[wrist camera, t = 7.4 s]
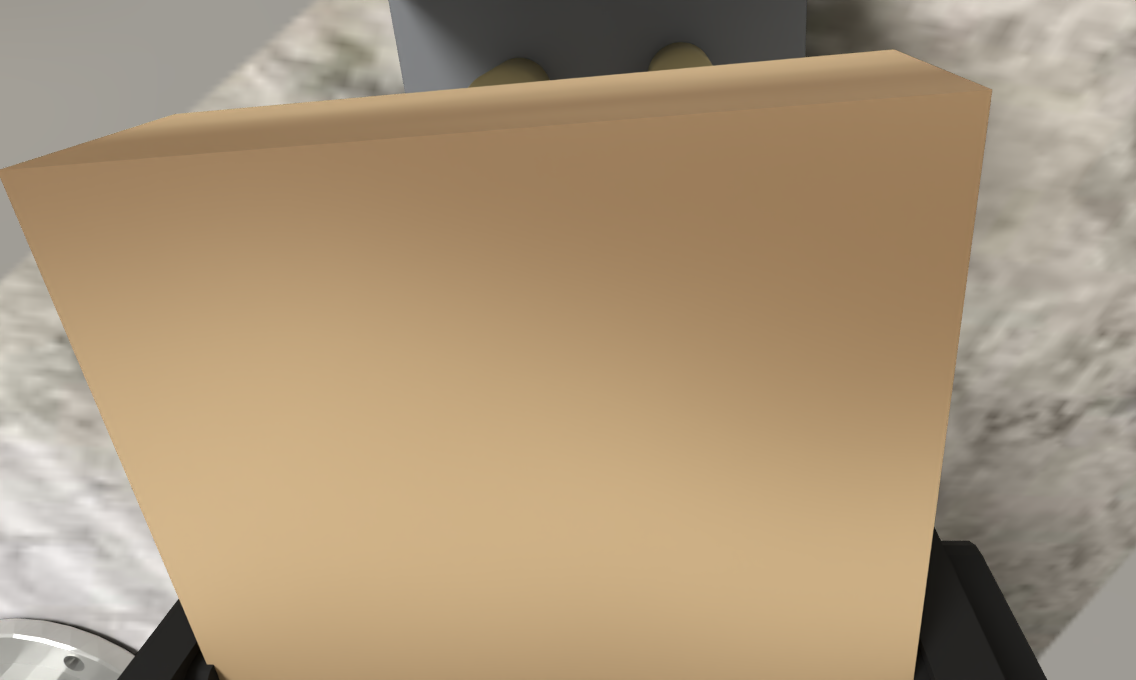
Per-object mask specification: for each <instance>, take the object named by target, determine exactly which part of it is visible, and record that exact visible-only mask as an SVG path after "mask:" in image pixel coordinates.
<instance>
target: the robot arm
mask: <svg viewBox="0 0 1136 680" xmlns="http://www.w3.org/2000/svg"><path fill="white" fill-rule="evenodd" d="M0 680H220V679H219V676H218V674H217V672H216V669H215V667H214V665H212V664H207V663H206V661H205V659H204V656H203V654H202V652H201V649H200V647H199V645H198V642H197V640H196V638H195V635H194V633H193V631H192V628H191V626H190V623H189V621H188V619H187V616H186V614H185V612H184V609H183V607H182V605H181V602H180V600H179V599H178V600H177V602H176V603H175V604H174V606H173V607H172V608H171V610H170V611H169V612H168V613H167V615H166V616H165V617H164V619H163V620H162V621H161V623H160V624H159V625H158V627H157V628H156V629H155V630H154V632H153V633H152V634H151V636H150V637H149V638H148V640H147V641H146V642H145V644H144V645H143V646H142V647H141V649H140V650H139V651H138V653H137V654H136V655H133V654H132V653H130V652H129V651H127V650H126V649H124V648H122V647H120V646H118V645H116V644H114V643H112V642H110V641H108V640H106V639H104V638H102V637H100V636H97V635H94V634H91V633H88V632H86V631H83V630H80V629H77V628H74V627H71V626H67V625H62V624H58V623H53V622H49V621H44V620H32V619H20V618H14V619H1V620H0ZM913 680H1047V678H1046V677H1045V675H1044V673H1043V671H1042V669H1041V667H1040V665H1039V663H1038V661H1037V659H1036V657H1035V655H1034V653H1033V652H1032V650H1031V648H1030V646H1029V644H1028V642H1027V640H1026V638H1025V636H1024V634H1023V632H1022V631H1021V629H1020V627H1019V625H1018V623H1017V621H1016V619H1015V617H1014V615H1013V613H1012V611H1011V610H1010V608H1009V606H1008V604H1007V602H1006V600H1005V598H1004V596H1003V594H1002V592H1001V590H1000V589H999V587H998V585H997V583H996V581H995V579H994V577H993V575H992V573H991V571H990V569H989V567H988V566H987V564H986V562H985V560H984V558H983V556H982V554H981V553H980V551H979V550H978V548H977V547H976V545H974V544H973V543H971V542H970V541H941V540H940V538H939V536H938V534H937V532H936V530H935V527H934V529H933V537H932V544H931V552H930V559H929V567H928V574H927V582H926V589H925V597H924V604H923V612H922V619H921V627H920V634H919V642H918V649H917V657H916V664H915V672H914V679H913Z"/></svg>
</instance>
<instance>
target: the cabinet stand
mask: <svg viewBox="0 0 1136 680" xmlns="http://www.w3.org/2000/svg"><path fill="white" fill-rule="evenodd" d="M388 1H389V6H390V12H391V17H392V23H393V28H394V34H395V39H396V45H397V50H398V56H399V61H400V67H401V72H402V78H403V84H404V89H405V93H416V92H427V91H438V90H449V89H460V88H471V87H483V86H494V85H505V84H516V83H527V82H538V81H549V80H560V79H571V78H582V77H594V76H605V75H616V74H627V73H638V72H649V71H660V70H671V69H682V68H694V67H705V66H716V65H727V64H738V63H749V62H760V61H771V60H782V59H793V58H805V49H806V15H807V0H388Z"/></svg>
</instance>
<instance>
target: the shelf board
mask: <svg viewBox="0 0 1136 680" xmlns="http://www.w3.org/2000/svg"><path fill="white" fill-rule="evenodd" d="M991 95H992V89H989V88H987V87H984V86H982V85H980V84H977V83H975V82H972V81H970V80H967V79H965V78H963V77H960V76H958V75H955V74H953V73H950V72H948V71H945V70H943V69H941V68H938V67H936V66H933V65H931V64H928V63H926V62H923V61H921V60H919V59H916V58H914V57H911V56H909V55H906V54H904V53H901V52H899V51H897V50H894V49H893V50H882V51H871V52H860V53H849V54H838V55H827V56H816V57H805V58H793V59H782V60H771V61H760V62H749V63H738V64H727V65H716V66H705V67H694V68H682V69H671V70H660V71H649V72H638V73H627V74H616V75H605V76H594V77H582V78H571V79H560V80H549V81H538V82H527V83H516V84H505V85H494V86H483V87H471V88H460V89H449V90H438V91H427V92H416V93H405V94H394V95H383V96H371V97H360V98H349V99H338V100H327V101H316V102H305V103H294V104H283V105H272V106H260V107H249V108H238V109H227V110H216V111H205V112H194V113H183V114H174V115H171V116H168V117H164V118H161V119H158V120H155V121H152V122H149V123H145V124H142V125H139V126H136V127H133V128H129V129H126V130H123V131H120V132H117V133H114V134H111V135H107V136H104V137H101V138H98V139H95V140H92V141H89V142H85V143H82V144H79V145H76V146H73V147H70V148H67V149H63V150H60V151H57V152H54V153H51V154H47V155H45V156H41V157H38V158H35V159H32V160H29V161H26V162H22V163H19V164H16V165H13V166H10V167H7V168H4V169H0V178H1V180H2V183H3V185H4V188H5V190H6V192H7V195H8V197H9V199H10V202H11V204H12V206H13V209H14V211H15V214H16V216H17V218H18V220H19V223H20V225H21V228H22V230H23V232H24V235H25V237H26V239H27V242H28V244H29V247H30V249H31V251H32V254H33V256H34V258H35V261H36V263H37V265H38V268H39V270H40V272H41V275H42V277H43V280H44V282H45V284H46V287H47V289H48V291H49V294H50V296H51V298H52V301H53V303H54V305H55V308H56V310H57V312H58V315H59V317H60V320H61V322H62V324H63V327H64V329H65V331H66V334H67V336H68V338H69V341H70V343H71V345H72V348H73V350H74V353H75V355H76V357H77V360H78V362H79V364H80V367H81V369H82V371H83V374H84V376H85V378H86V381H87V383H88V386H89V388H90V390H91V393H92V395H93V397H94V400H95V402H96V404H97V407H98V409H99V411H100V414H101V416H102V419H103V421H104V423H105V426H106V428H107V430H108V433H109V435H110V437H111V440H112V442H113V444H114V447H115V449H116V451H117V454H118V456H119V459H120V461H121V463H122V466H123V468H124V470H125V473H126V475H127V477H128V480H129V482H130V484H131V487H132V489H133V492H134V494H135V496H136V499H137V501H138V503H139V506H140V508H141V510H142V513H143V515H144V517H145V520H146V522H147V525H148V527H149V529H150V532H151V534H152V536H153V539H154V541H155V543H156V546H157V548H158V550H159V553H160V555H161V557H162V560H163V562H164V565H165V567H166V569H167V572H168V574H169V576H170V579H171V581H172V583H173V586H174V588H175V590H176V593H177V595H178V598H179V600H180V602H181V605H182V607H183V609H184V612H185V614H186V616H187V619H188V621H189V623H190V626H191V628H192V631H193V633H194V635H195V638H196V640H197V642H198V645H199V647H200V649H201V652H202V654H203V656H204V659H205V661H206V663H207V664H212V665H214V667H215V669H216V672H217V674H218V676H219V679H220V680H913V679H914V672H915V664H916V657H917V649H918V642H919V634H920V627H921V619H922V612H923V604H924V597H925V589H926V582H927V574H928V567H929V559H930V552H931V544H932V537H933V529H934V522H935V514H936V507H937V499H938V492H939V485H940V477H941V470H942V462H943V455H944V447H945V440H946V432H947V425H948V417H949V410H950V402H951V395H952V387H953V380H954V372H955V365H956V357H957V350H958V342H959V335H960V327H961V320H962V312H963V305H964V297H965V290H966V282H967V275H968V267H969V260H970V252H971V245H972V237H973V230H974V222H975V215H976V207H977V200H978V192H979V185H980V177H981V170H982V162H983V155H984V147H985V140H986V132H987V125H988V117H989V110H990V102H991Z"/></svg>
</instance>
